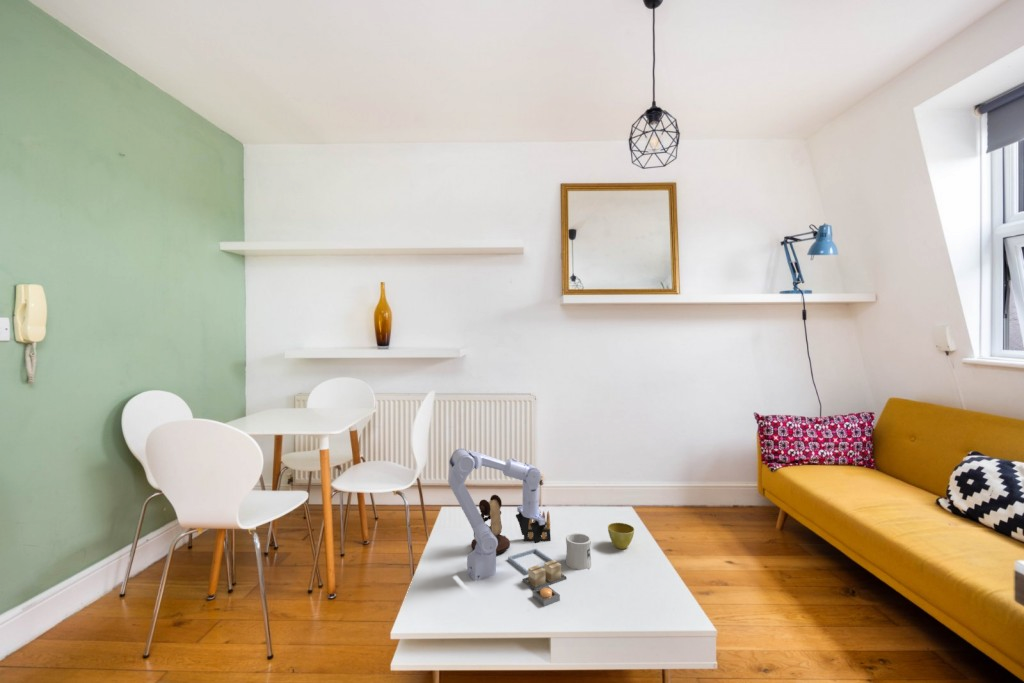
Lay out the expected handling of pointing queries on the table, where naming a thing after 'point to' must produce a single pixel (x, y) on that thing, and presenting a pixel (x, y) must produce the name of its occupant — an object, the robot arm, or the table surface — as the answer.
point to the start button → (545, 592)
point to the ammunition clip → (546, 531)
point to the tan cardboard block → (552, 570)
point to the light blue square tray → (525, 555)
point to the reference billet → (536, 575)
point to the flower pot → (620, 534)
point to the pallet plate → (545, 583)
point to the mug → (578, 551)
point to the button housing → (547, 601)
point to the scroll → (493, 522)
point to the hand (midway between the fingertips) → (530, 538)
